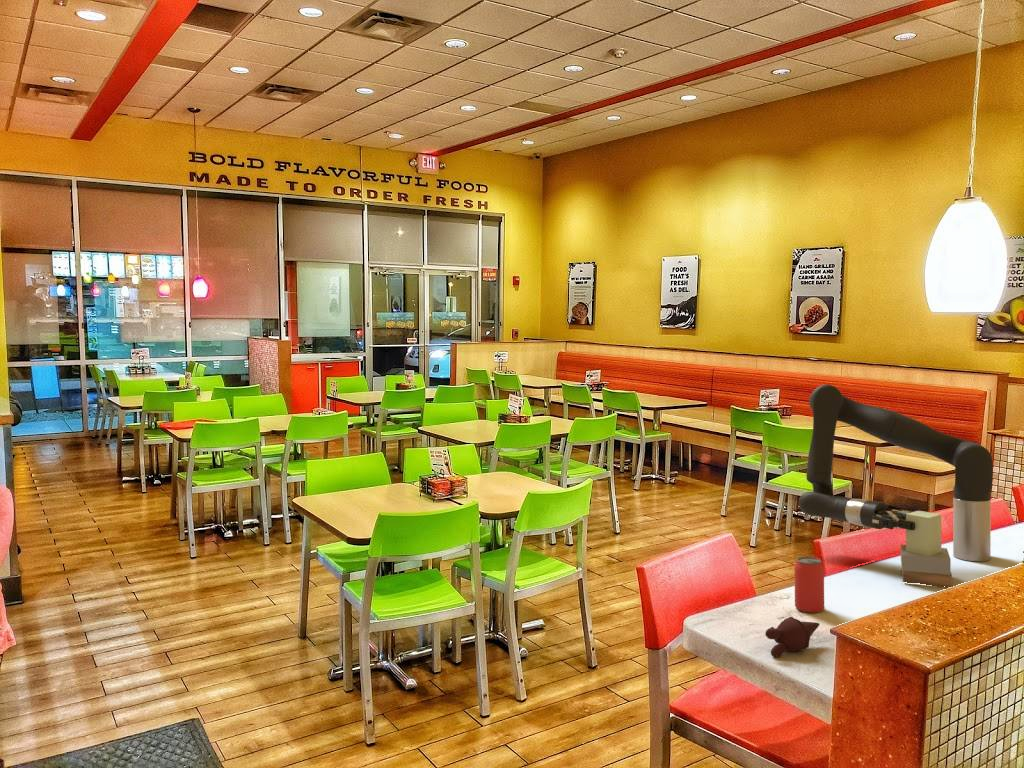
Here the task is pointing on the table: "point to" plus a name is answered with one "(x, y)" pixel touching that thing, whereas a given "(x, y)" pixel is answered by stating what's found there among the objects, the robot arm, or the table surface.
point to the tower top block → (926, 562)
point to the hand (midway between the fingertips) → (923, 523)
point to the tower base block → (927, 578)
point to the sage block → (924, 533)
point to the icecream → (791, 635)
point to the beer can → (809, 585)
